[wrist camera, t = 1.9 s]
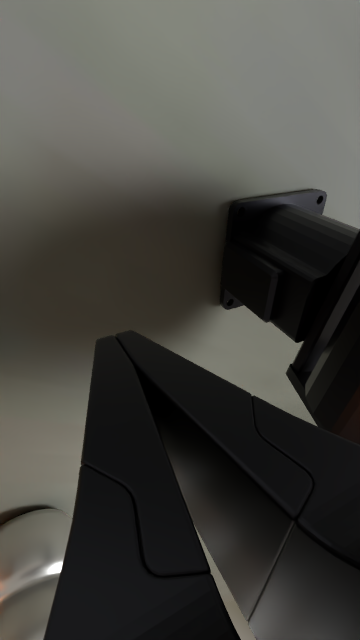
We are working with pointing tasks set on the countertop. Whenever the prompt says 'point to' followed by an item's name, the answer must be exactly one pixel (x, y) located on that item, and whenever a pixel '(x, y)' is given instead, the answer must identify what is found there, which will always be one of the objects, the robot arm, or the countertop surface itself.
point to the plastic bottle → (30, 571)
